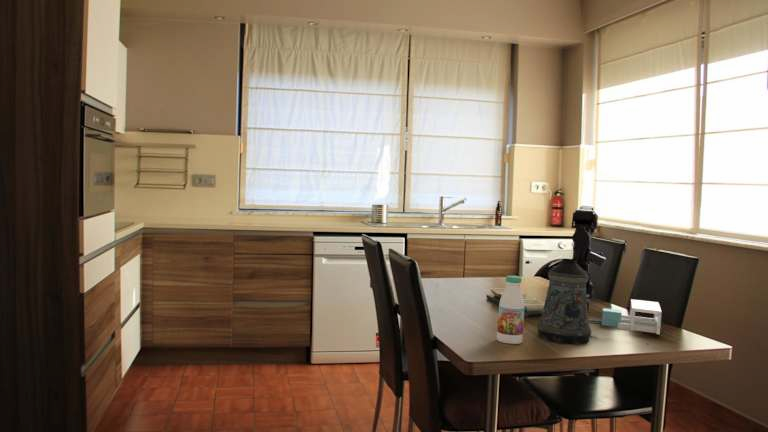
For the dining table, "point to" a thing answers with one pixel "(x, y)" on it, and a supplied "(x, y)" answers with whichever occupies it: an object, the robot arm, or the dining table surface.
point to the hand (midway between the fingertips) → (578, 287)
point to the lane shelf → (642, 322)
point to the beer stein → (566, 306)
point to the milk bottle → (511, 312)
